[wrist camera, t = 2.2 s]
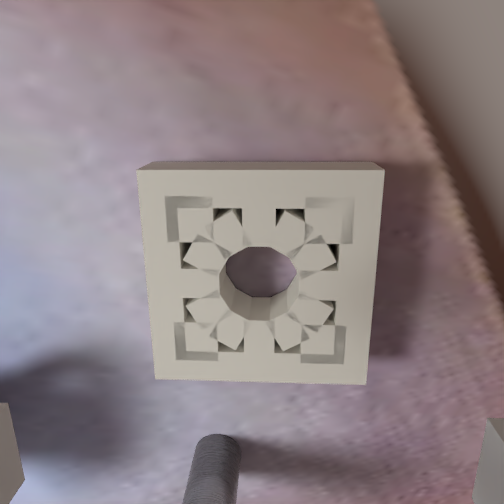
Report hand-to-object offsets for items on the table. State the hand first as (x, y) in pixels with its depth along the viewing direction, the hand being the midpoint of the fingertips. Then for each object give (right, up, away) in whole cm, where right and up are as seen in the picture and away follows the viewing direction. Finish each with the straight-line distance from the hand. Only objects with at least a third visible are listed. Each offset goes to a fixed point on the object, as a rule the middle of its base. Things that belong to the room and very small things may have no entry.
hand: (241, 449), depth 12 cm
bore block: (+1, +5, +14) cm, 15 cm away
